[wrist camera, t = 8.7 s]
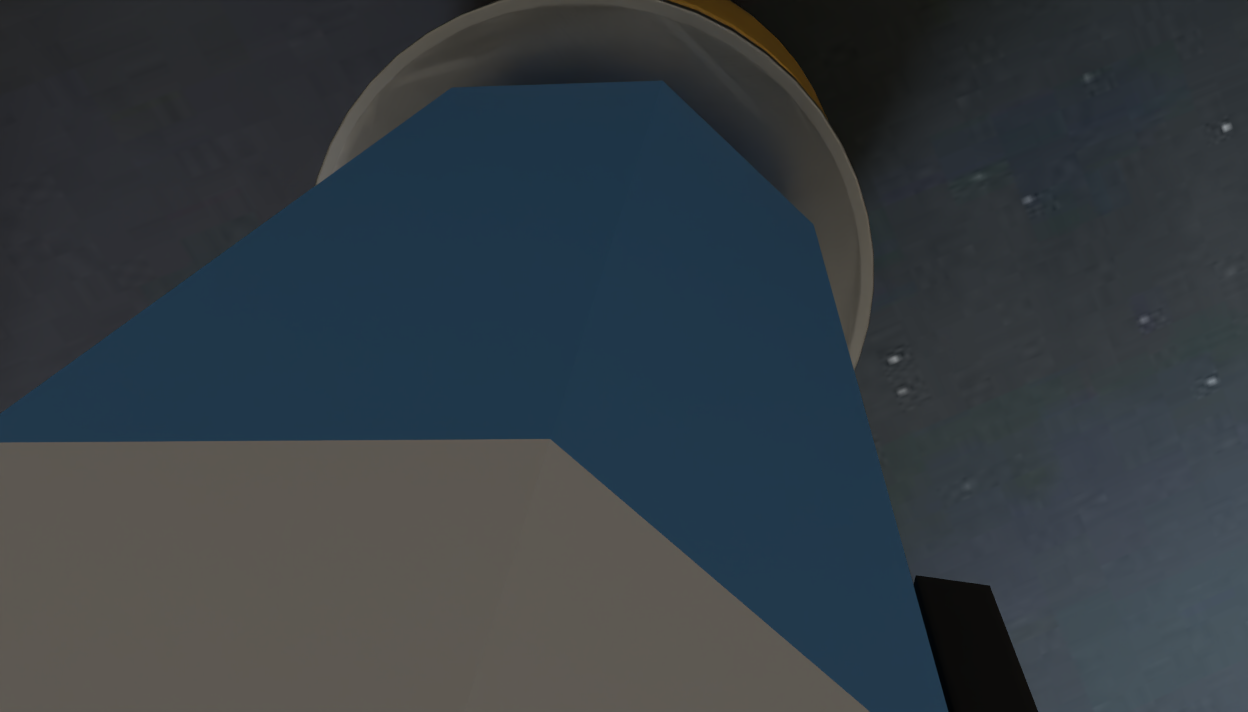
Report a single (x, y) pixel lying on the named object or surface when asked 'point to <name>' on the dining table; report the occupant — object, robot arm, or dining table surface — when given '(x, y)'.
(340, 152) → the tin
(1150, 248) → the dining table surface
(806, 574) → the water bottle
